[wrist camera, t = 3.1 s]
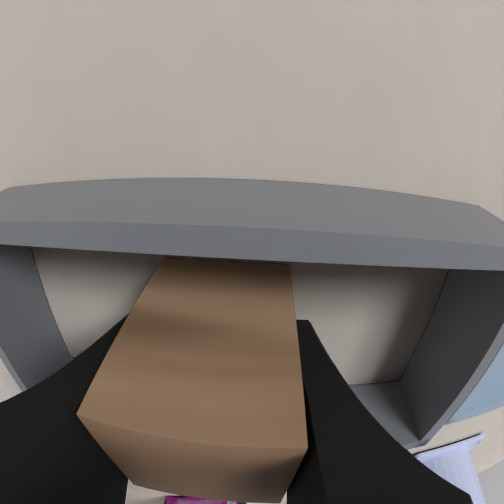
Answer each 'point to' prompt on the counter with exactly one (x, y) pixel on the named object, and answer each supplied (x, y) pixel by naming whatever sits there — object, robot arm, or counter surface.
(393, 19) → the counter surface
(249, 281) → the walnut block
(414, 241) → the gray rectangular bin
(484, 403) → the light blue tray
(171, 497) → the candy bar box
